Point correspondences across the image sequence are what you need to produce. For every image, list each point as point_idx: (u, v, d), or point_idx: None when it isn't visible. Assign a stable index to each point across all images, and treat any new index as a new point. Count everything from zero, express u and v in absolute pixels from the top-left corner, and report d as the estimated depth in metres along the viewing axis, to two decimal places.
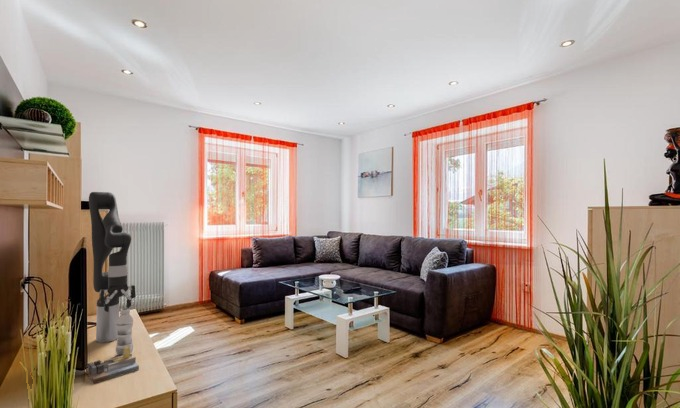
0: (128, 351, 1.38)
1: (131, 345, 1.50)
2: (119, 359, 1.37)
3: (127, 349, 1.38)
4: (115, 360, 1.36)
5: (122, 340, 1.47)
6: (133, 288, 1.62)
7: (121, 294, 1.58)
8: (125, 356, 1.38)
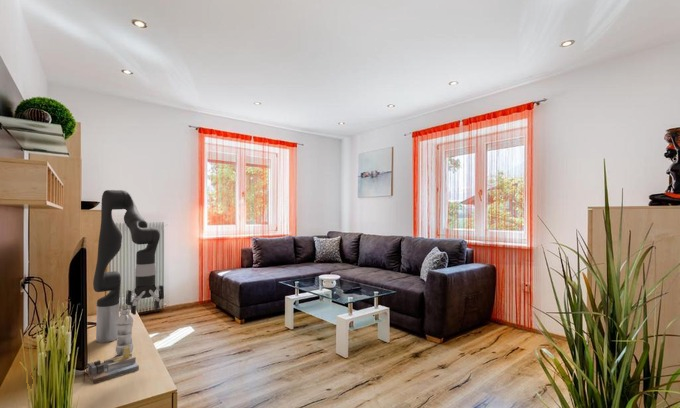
0: (128, 351, 1.38)
1: (131, 345, 1.50)
2: (119, 359, 1.37)
3: (127, 349, 1.38)
4: (115, 360, 1.36)
5: (122, 340, 1.47)
6: (161, 288, 1.48)
7: (149, 295, 1.45)
8: (125, 356, 1.38)
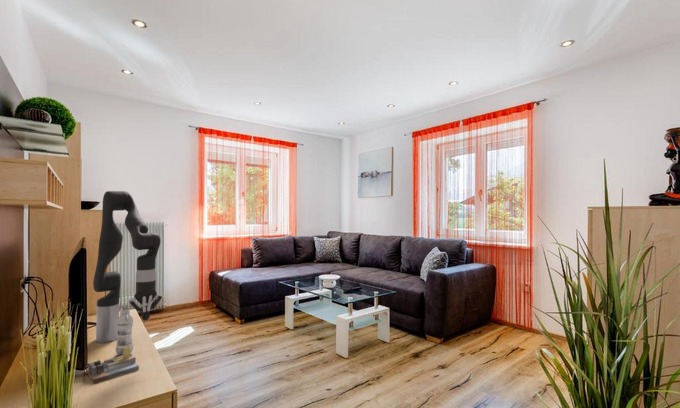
0: (128, 351, 1.38)
1: (131, 345, 1.50)
2: (119, 359, 1.37)
3: (127, 349, 1.38)
4: (115, 360, 1.36)
5: (122, 340, 1.47)
6: (159, 299, 1.47)
7: (146, 300, 1.43)
8: (125, 356, 1.38)
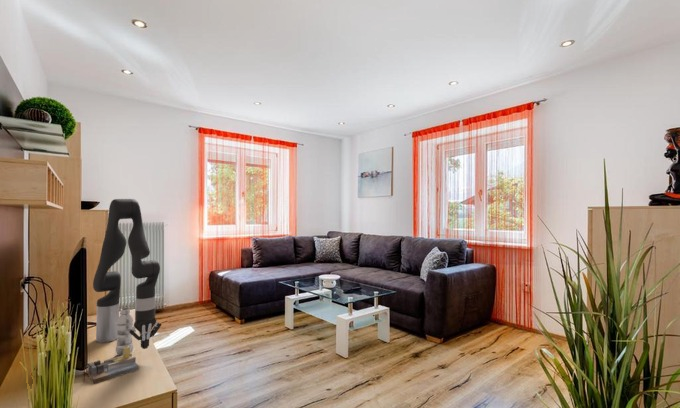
0: (128, 351, 1.38)
1: (131, 345, 1.50)
2: (119, 359, 1.37)
3: (127, 349, 1.38)
4: (115, 360, 1.36)
5: (122, 340, 1.47)
6: (158, 326, 1.47)
7: (145, 328, 1.43)
8: (125, 356, 1.38)
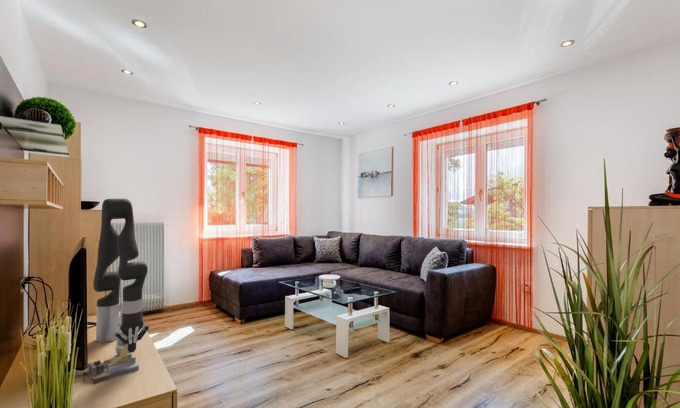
0: (125, 352, 1.38)
1: None
2: (116, 360, 1.36)
3: (124, 350, 1.37)
4: (112, 361, 1.35)
5: None
6: (146, 329, 1.43)
7: (132, 331, 1.39)
8: (122, 357, 1.37)
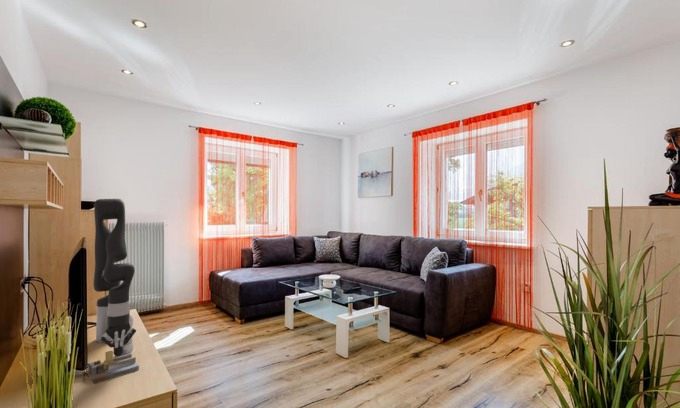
0: (111, 356, 1.34)
1: (131, 345, 1.50)
2: None
3: (110, 354, 1.34)
4: None
5: None
6: (133, 332, 1.40)
7: (118, 334, 1.36)
8: (108, 361, 1.33)
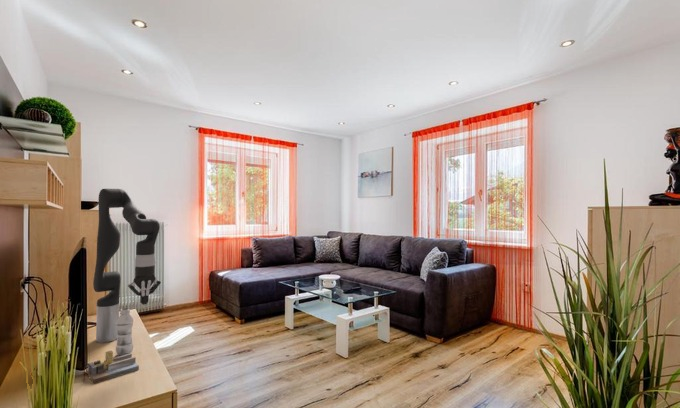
0: (111, 356, 1.34)
1: (131, 345, 1.50)
2: None
3: (110, 354, 1.34)
4: None
5: (122, 340, 1.47)
6: (157, 284, 1.50)
7: (145, 284, 1.46)
8: (108, 361, 1.33)
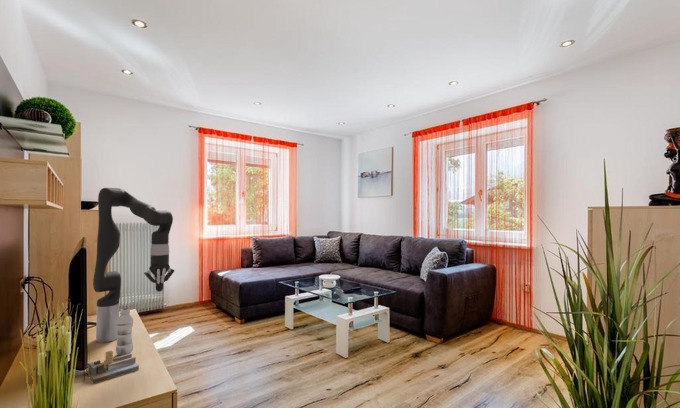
0: (111, 356, 1.34)
1: (131, 345, 1.50)
2: None
3: (110, 354, 1.34)
4: None
5: (122, 340, 1.47)
6: (171, 272, 1.58)
7: (160, 272, 1.54)
8: (108, 361, 1.33)
